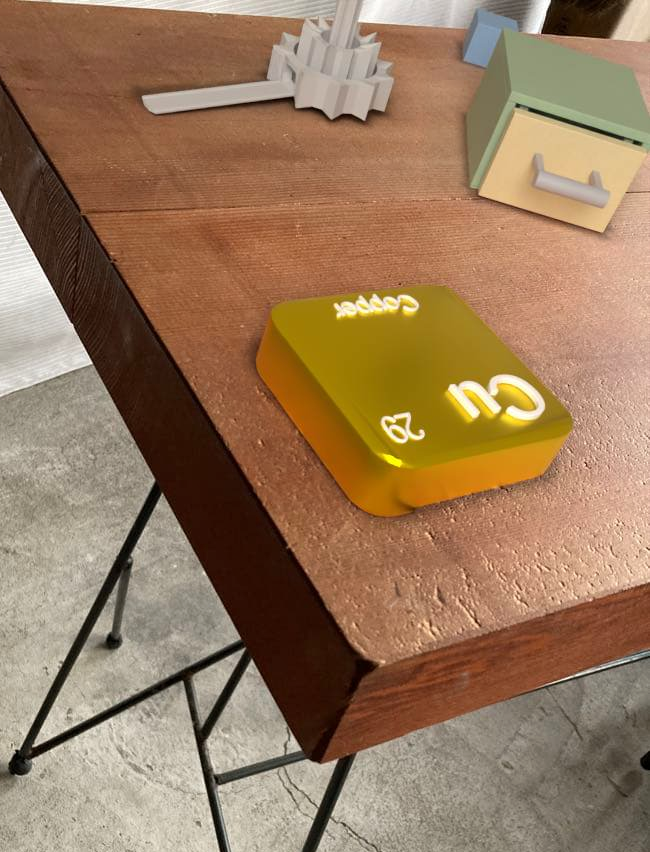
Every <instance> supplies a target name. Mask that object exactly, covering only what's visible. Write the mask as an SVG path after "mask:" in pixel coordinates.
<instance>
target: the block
mask: <svg viewBox="0 0 650 852" xmlns="http://www.w3.org/2000/svg"><path fill="white" fill-rule="evenodd" d="M471 19H472V20H471V22H470V24H469V27H468V30H467V31H466V35H465V37H464V40H463V43H462V61H464V62H466V63H469V64H473V65H476V66H479V67H483V68H485V69H486V68H487V65H488V63H489V60H490V58H491V55H492V53H493V51H494V48H495V46H496V43H497V41H498V38H499V37H500V34H501V31H502V29H503V27H504V28H507V29H511V30H514V31H517V32H520V31H519V30H520V29H519V25H518V20H516V19H513V18H511V17H506V16H503V15H501V14H498V13H495V12H491V11H487V10H485V9H482V8H478V7H477V8H476V9H475V12H474V14H473V17H472V18H471Z"/></svg>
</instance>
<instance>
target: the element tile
mask: <svg viewBox="0 0 650 852" xmlns="http://www.w3.org/2000/svg"><path fill="white" fill-rule="evenodd" d="M255 366H256V371H257V373H258V375H259V377H260V378H261V379H262V381H263V382H264V384H265V385H266V387H267V388H268V389H269V390H270V391H271V393H272V395H273V396H274V398H275V399H276V401H277V402H278V403H279V404H280V406H281V407H282V409H283V410H284V412H286V415H288V417H289V418H290V421H292V422H293V424H294V425H295V427H296V428H297V429H298V431H299V432H300V433H301V435H302V437H304V439H305V440H306V442H307V443H308V445H309V446H310V448H312V450H313V451H314V453H315V454H316V456H317V457H318V458H319V460H320V461H321V462H322V464H323V465H324V466H325V468H326V469H327V471H328V472H329V473H330V475H331V476H332V477H333V479H334V480H335V481H336V483H337V484H338V486H339V488H340V489H341V490H342V491H343V492H344V494H345V495H346V497H347V498H348V499H349V501H351V502H352V503H353V504H354V505H355V506H357V508H359V509H360V510H362V511H363V512H365V513H368V514H370V515H373V516H374V517H375V516H376V517H385V518H391V517H399V516H403V515H407V514H411V513H414V512H416V509H417V508H421V507H424V506H428V505H432V504H437V503H440V502H443V501H447V500H451V499H456V498H460V497H464V496H469V495H471V494H476V493H480V492H483V491H487V490H492V489H496V488H500V487H503V486H508V485H511V484H515V483H516V484H517V483H519V482H523V481H527V480H532V479H535V478H537V477H540V476H543V474H544V473H546V471H547V470H548V468H549V467H550V465H551V464H552V462H553V461H554V459H555V458H556V456H557V455H558V453H559V452H560V451H561V449H562V447H563V446H564V444H565V442H566V441H567V439H568V438H569V437H570V435H571V433H572V432H573V430H574V419H573V416H572V415H571V413H570V411H569V410H568V408H567V407H566V405H564V404H563V402H561V400H559V398H557V397H556V395H555V394H554V393H553V392H552V391H551V390H550V389H549V388H548V387H547V386H546V385H545V384H544V383H543V381H542V380H541V379H540V378H539V377H538V376H537V375H536V374H535V373H534V372H533V371H532V370H531V369H530V368H529V367H528V366H527V365H526V364H525V362H524V361H522V359H521V358H520V357H519V356H518V355H517V354H516V353H515V352H514V351H513V350H512V349H511V347H509V346H508V345H507V343H506V342H504V340H503V339H502V338H500V336H499V335H498V334H497V333H496V332H495V331H494V330H493V329H492V328H491V327H490V326H489V324H487V322H485V320H484V319H483V318H482V317H480V315H479V314H478V313H477V312H476V311H475V310H474V309H473V308H472V307H471V306H470V305H469V303H468V302H467V301H465V300H464V298H462V297H461V295H458V293H456V292H455V291H454V290H453V289H451V288H449V287H448V286H445V285H439V284H438V285H436V284H417V285H408V286H407V285H406V286H400V287H391V288H382V289H375V290H374V289H372V290H364V291H356V292H355V291H354V292H347V293H339V294H338V293H337V294H330V295H321V296H314V297H313V296H312V297H303V298H293V299H287V300H284V301H281V302H278V303H277V304H275V305H273V306H272V309H271V310H270V312H269V314H268V317H267V321H266V325H265V328H264V331H263V334H262V338H261V341H260V344H259V347H258V350H257V353H256V357H255Z"/></svg>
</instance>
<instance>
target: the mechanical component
mask: <svg viewBox="0 0 650 852" xmlns="http://www.w3.org/2000/svg"><path fill="white" fill-rule="evenodd" d="M363 3H364V0H337V2H336V7H335V11H334V15H333V19H332V23H331V25H329V24H328V23H327V21H326V20H325V19H324V17H323V16H322V15H321V14H320V12H319V13H318V14H317V15H318V16H317V20H316V24H315V23H314V22H313V21H311V20H310V19H309V18H308V17H305V19H304V22H303V25H302V29H301V33H300V35H297V36H296V35H294V34H291V33H287V32H285V31H282V34H281V38H280V43H279V44H273V45H272V50H271V55H270V56H271V57H270V61H269V65H268V71H267V74H266V75H267V76H266V80H263V81H262V80H261V81H255V82H245V83H237V84H230V85H228V84H227V85H221V86H211V87H204V88H195V89H187V90H179V91H171V92H162V93H153V94H145V95H141V100H142V103H143V106H144V107H145V108H146V109H147V110H148V112H150V113H152V114H154V115H160V114H168V113H176V112H184V111H190V110H198V109H206V108H213V107H221V106H229V105H235V104H236V105H237V104H243V103H244V104H245V103H250V102H260V101H267V100H274V99H282V98H283V99H284V98H290V97H293V99H294V107H295V109H302V108H303V109H304V108H311V107H313V108H315V109H319V110H321V111H322V112H323V113H324V114H325V115H326V116H327V117H328V118H329V120H332V121H333V120H334V119H336V118H337V117H339V116H340V115H343V114H347V115H348V114H349V115H350V114H351V115H353V116H354V117H357V118H358V119H360V120H362V121H364V122H365V121H366V118H367V115H368V112H370V111H371V110H376V111H380V112H385V110H386V107H387V104H388V101H389V97H390V94H391V91H392V88H393V85H394V81H395V78H394V77H393V76H391V73H392V70H393V67H394V62H392V61H387V60H382V59H380V58H379V53H380V50H381V46H382V44H383V42H382V41H379V42H375V41H376V38H377V34H378V31H374V32H373V33H370V34H368V35H364V36H362V35H361V34H360V33H361V32H360V31H361V26H362V21H359V19H360V15H361V12H362V8H363Z"/></svg>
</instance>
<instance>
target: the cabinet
mask: <svg viewBox="0 0 650 852" xmlns="http://www.w3.org/2000/svg"><path fill="white" fill-rule="evenodd" d="M516 103H518V104H521V105H524V106H527V107H530V108H534V109H537V110H540V111H543V112H546V113H550V114H553V115H556V116H559V117H562V118H566V119H569V120H572V121H575V122H578V123H581V124H585V125H588V126H591V127H594V128H597V129H601V130H604V131H607V132H610V133H613V134H617V135H620V136H623V137H626V138H629V139H633V140H634V141H633V143H632V144H634V145H637V146H640V147H644V148H645V149H646V152H647V155H648V154H649V152H650V114H649V110H648V107H647V105H646V102H645V99H644V96H643V94H642V91H641V88H640V86H639V83H638V80H637V77H636V74H635V71H634V69H633V68H632V67H629V66H627V65H623V64H621V63H617V62H614V61H611V60H607V59H604V58H601V57H598V56H595V55H592V54H589V53H585V52H583V51H580V50H576V49H573V48H570V47H566V46H563V45H562V44H561V45H560V44H558V43H554V42H552V41H548V40H545V39H542V38H538V37H536V36H532V35H529V34H526V33H523V32H520V31H519V32H517V31H514V30H511V29H507V28H504V27H503V29H502V31H501V34H500V37H499V38H498V41H497V43H496V46H495V48H494V51H493V53H492V55H491V58H490V60H489V63H488V65H487V68H485V70H484V73H483V75H482V77H481V80H480V82H479V85H478V87H477V89H476V92H475V94H474V96H473V100H472V101H471V104H470V105H469V106H470V107H469V109H468V111H467V113H466V116H465V121H466V123H465V124H466V140H467V141H466V142H467V144H466V145H467V162H468V163H467V164H468V181H469V187H470V188H473V189H476V190H478V187H479V185H480V183H481V181H482V178H483V176H484V174H485V172H486V169H487V167H488V165H489V163H490V160H491V158H492V156H493V154H494V151H495V149H496V147H497V145H498V142H499V140H500V138H501V136H502V133H503V131H504V129H505V127H506V125H507V122H508V120H509V118H510V116H511V113H512V111H513V109H514V107H515V106H516Z"/></svg>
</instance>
